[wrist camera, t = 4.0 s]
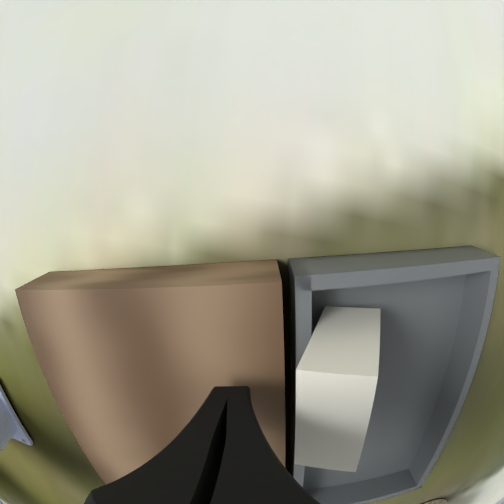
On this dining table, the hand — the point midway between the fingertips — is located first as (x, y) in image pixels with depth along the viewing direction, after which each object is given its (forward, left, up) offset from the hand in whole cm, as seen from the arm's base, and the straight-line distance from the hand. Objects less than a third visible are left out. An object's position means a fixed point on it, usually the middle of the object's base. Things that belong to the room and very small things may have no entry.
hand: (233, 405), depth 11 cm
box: (+7, -4, -4) cm, 9 cm away
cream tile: (+3, 0, -1) cm, 3 cm away
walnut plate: (-4, -4, -4) cm, 7 cm away
